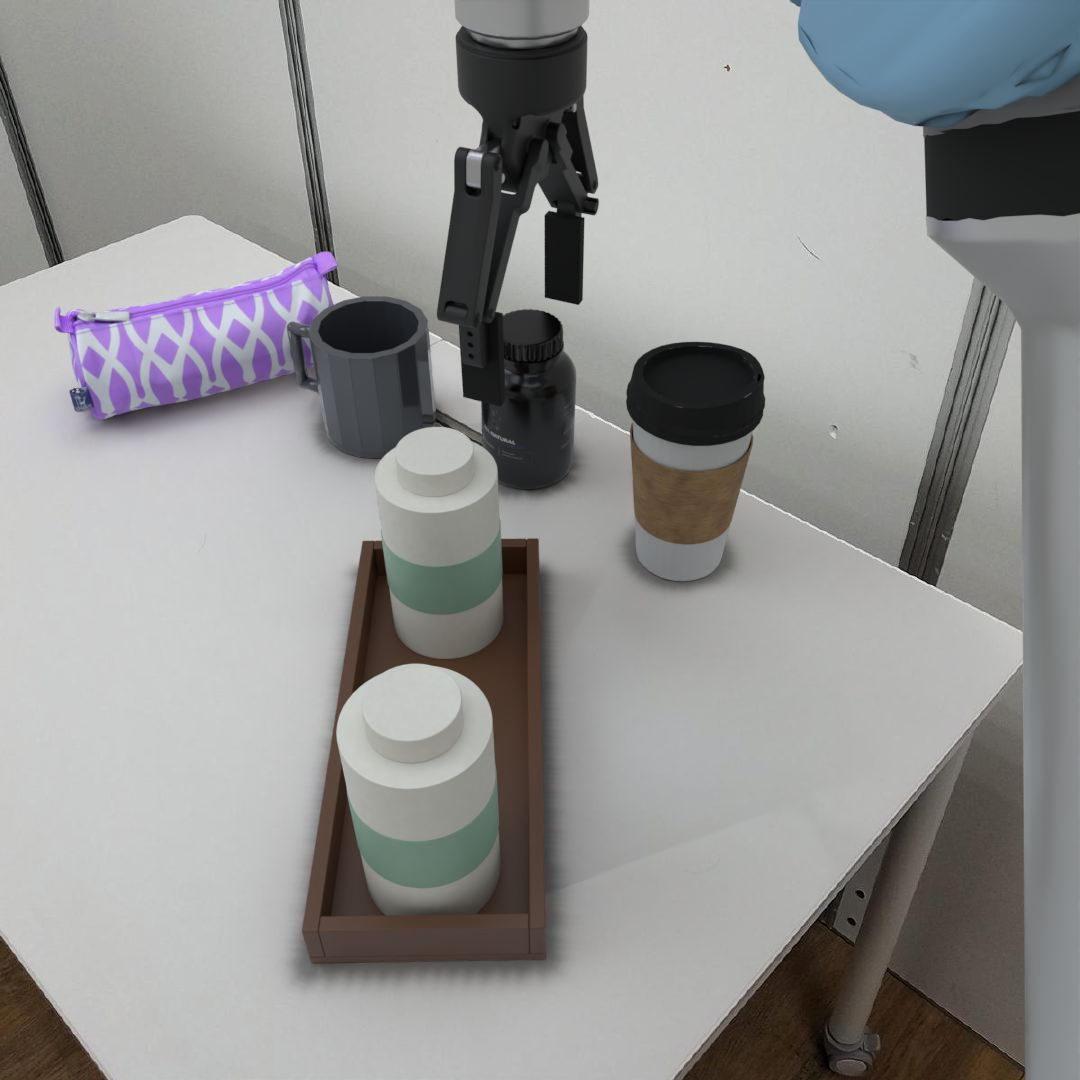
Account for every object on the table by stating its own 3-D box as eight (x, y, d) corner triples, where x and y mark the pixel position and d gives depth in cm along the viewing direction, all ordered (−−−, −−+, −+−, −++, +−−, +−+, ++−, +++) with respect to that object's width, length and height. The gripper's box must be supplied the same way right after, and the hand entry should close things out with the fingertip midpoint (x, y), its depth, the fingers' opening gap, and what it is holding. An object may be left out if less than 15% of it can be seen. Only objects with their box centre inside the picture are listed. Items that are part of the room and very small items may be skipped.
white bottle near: (521, 902, 57) (515, 736, 48) (386, 951, 55) (353, 788, 46) (475, 793, 62) (462, 623, 52) (350, 835, 60) (313, 666, 51)
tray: (539, 571, 75) (538, 537, 73) (545, 959, 55) (545, 927, 53) (367, 574, 75) (362, 540, 73) (310, 963, 55) (301, 931, 53)
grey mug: (454, 407, 90) (447, 309, 84) (403, 469, 84) (391, 368, 78) (329, 376, 93) (314, 279, 87) (272, 433, 87) (251, 334, 81)
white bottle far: (520, 641, 70) (515, 471, 61) (412, 673, 68) (390, 503, 59) (482, 568, 75) (473, 401, 66) (380, 596, 73) (356, 429, 64)
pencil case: (87, 447, 86) (50, 342, 80) (71, 385, 92) (35, 283, 86) (361, 377, 93) (347, 275, 86) (329, 324, 99) (313, 225, 93)
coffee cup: (730, 606, 73) (759, 419, 63) (604, 581, 75) (613, 396, 65) (748, 524, 79) (778, 342, 69) (632, 502, 81) (644, 322, 71)
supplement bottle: (476, 489, 82) (468, 349, 74) (490, 433, 87) (484, 297, 79) (569, 495, 81) (572, 356, 73) (578, 439, 86) (581, 302, 78)
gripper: (546, -43, 72) (546, 254, 87) (351, 94, 56) (391, 433, 70) (656, -30, 70) (637, 273, 85) (487, 117, 53) (500, 463, 68)
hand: (526, 346), depth 77 cm, fingers open, 13 cm apart
